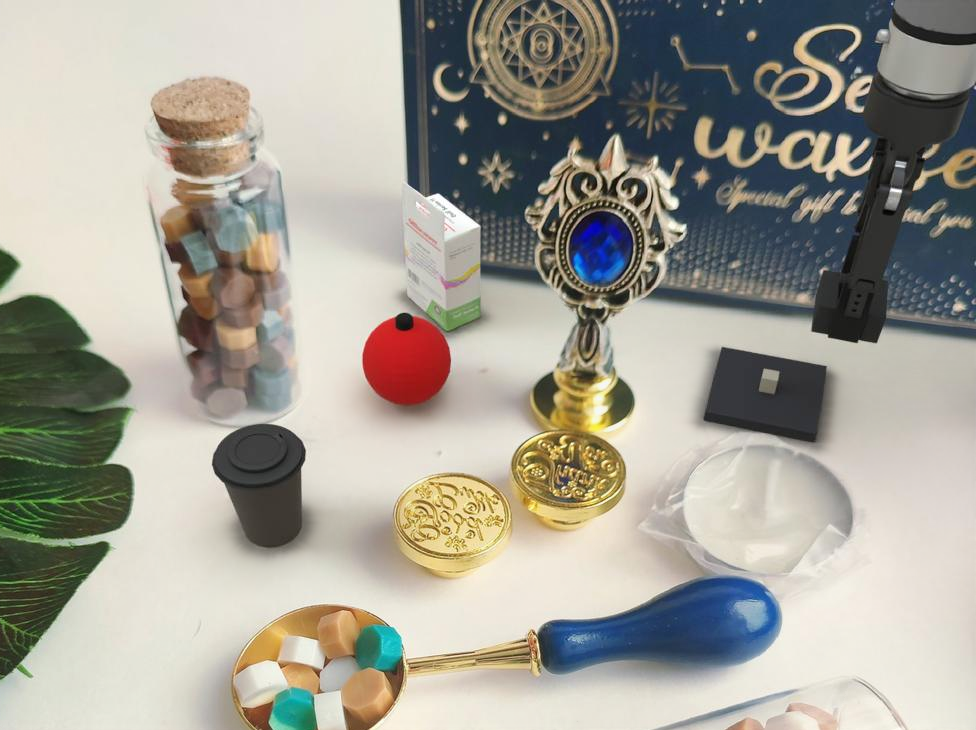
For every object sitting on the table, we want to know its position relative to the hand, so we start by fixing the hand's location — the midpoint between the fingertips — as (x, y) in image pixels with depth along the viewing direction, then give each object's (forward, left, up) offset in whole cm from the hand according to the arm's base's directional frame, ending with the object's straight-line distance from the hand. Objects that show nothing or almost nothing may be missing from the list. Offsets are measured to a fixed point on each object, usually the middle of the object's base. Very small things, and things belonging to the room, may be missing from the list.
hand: (845, 317), depth 102 cm
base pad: (+4, -4, -11) cm, 13 cm away
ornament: (+36, -21, -11) cm, 44 cm away
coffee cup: (+55, -10, -11) cm, 57 cm away
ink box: (+26, -33, -11) cm, 44 cm away
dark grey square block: (0, 0, 0) cm, 0 cm away
